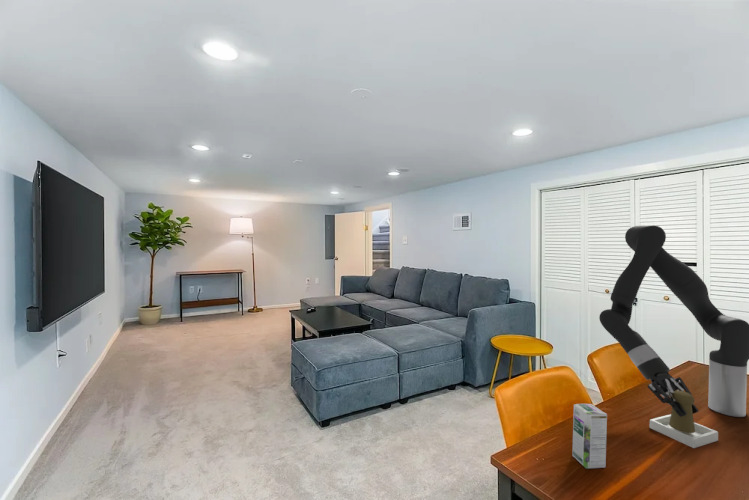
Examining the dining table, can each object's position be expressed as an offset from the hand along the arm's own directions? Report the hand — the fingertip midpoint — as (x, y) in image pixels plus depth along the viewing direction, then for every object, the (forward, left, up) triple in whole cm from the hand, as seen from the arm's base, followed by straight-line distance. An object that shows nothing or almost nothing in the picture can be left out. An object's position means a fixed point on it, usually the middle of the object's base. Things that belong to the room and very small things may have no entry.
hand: (689, 413), depth 104 cm
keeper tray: (0, -2, -7) cm, 7 cm away
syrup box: (+40, -2, -7) cm, 41 cm away
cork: (0, -2, -5) cm, 6 cm away
